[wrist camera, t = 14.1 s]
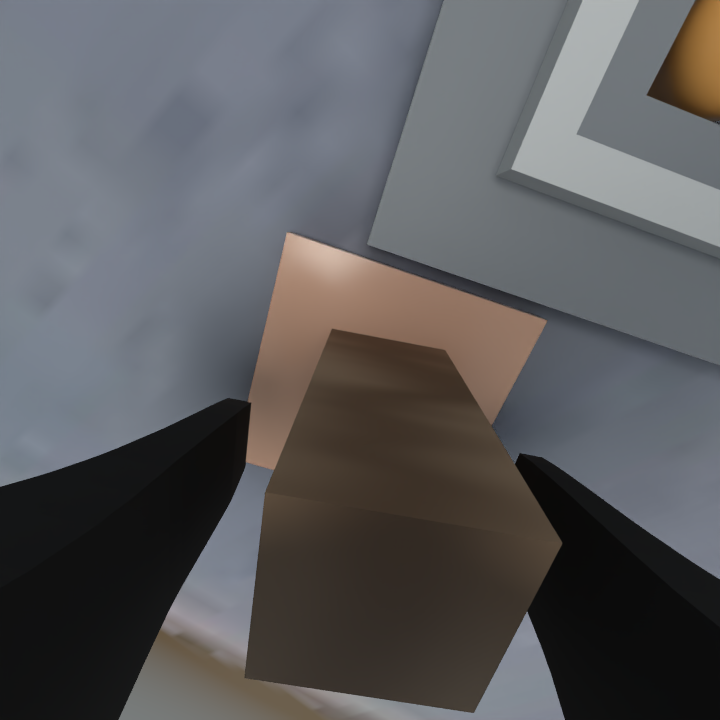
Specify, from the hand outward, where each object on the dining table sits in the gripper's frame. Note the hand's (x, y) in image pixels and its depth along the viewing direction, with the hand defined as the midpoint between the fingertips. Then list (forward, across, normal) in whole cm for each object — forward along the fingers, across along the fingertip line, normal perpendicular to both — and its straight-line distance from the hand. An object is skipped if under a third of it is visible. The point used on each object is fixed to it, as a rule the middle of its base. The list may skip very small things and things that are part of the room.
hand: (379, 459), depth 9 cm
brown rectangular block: (+4, 0, 0) cm, 4 cm away
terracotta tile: (+4, 0, 0) cm, 4 cm away
